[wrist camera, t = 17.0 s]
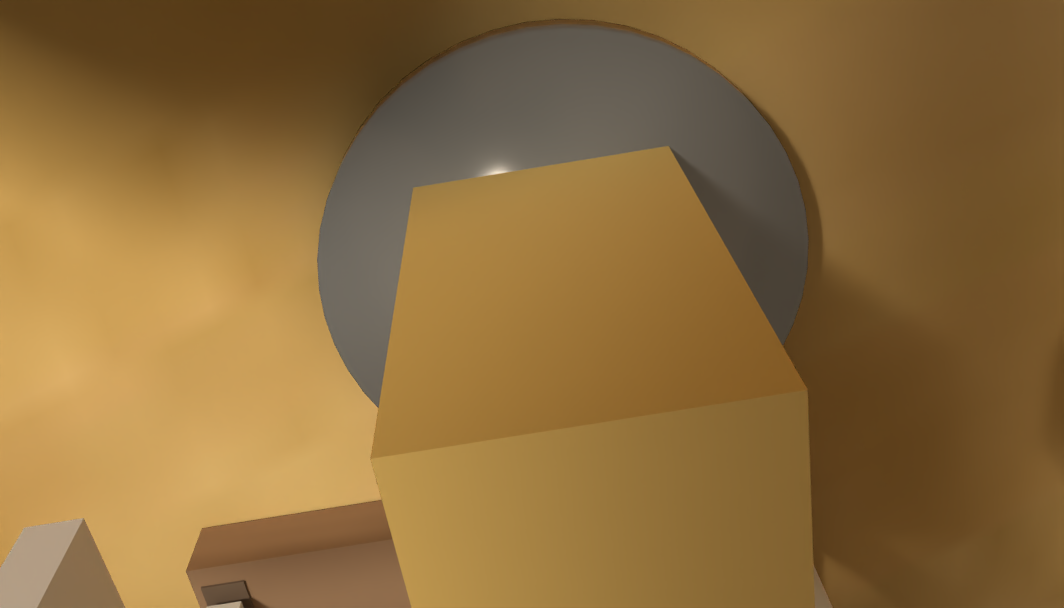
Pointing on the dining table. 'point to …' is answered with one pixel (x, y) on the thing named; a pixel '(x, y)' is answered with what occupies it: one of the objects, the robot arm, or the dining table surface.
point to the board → (301, 561)
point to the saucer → (552, 159)
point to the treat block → (588, 401)
